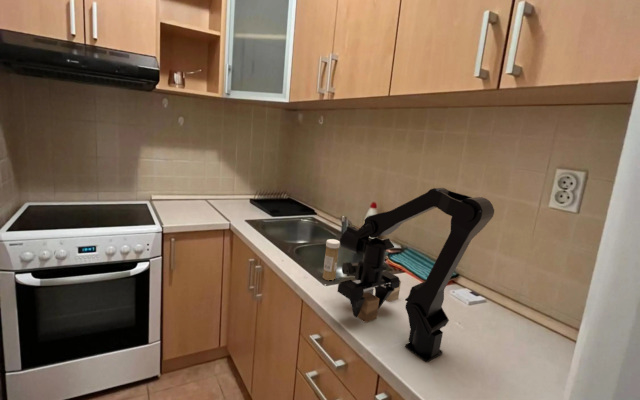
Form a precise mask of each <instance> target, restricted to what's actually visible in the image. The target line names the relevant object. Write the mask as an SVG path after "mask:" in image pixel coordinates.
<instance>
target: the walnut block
mask: <svg viewBox="0 0 640 400" xmlns="http://www.w3.org/2000/svg"><path fill="white" fill-rule="evenodd" d="M362 297H364V298H365V300H364V302H363V305H362V307H361V310H360V312H359V315H358V317H357V318H358V319H360V320H361V321H362V322H364V323H368V322H371V321H373V320H377V317H378V311H379V309H378V306H379V298H378V297H376V296H375V294H374V293H373V294H371V293H369V292H366V293H364V294H363V296H362Z"/></svg>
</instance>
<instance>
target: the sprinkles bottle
mask: <svg viewBox="0 0 640 400" xmlns="http://www.w3.org/2000/svg"><path fill="white" fill-rule="evenodd" d="M340 247H341V245H340V240H338V239H334V238H331V239H327V240H326V241H325V254H324V261H323V262H324V263H323V274H322V279H323V280H325V281H329V280H332V281H335V280H336V278H337V277H336V275H337V269H338V268H337V266H338V259H339V258H338V256H339V250H340ZM334 279H335V280H334Z"/></svg>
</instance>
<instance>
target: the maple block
mask: <svg viewBox="0 0 640 400" xmlns="http://www.w3.org/2000/svg"><path fill="white" fill-rule="evenodd" d="M401 283H402V281H401V280H400V285H399V287H398V288H395V290H394V291H393V292H392V293H391V294H390V295H389V296H388V297H387V299H386V300H385V301H386V302H388V303H390V302H394V301H396V300H399V297H400V291H401V290H400V289H401V285H402V284H401Z"/></svg>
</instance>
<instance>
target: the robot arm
mask: <svg viewBox="0 0 640 400" xmlns="http://www.w3.org/2000/svg"><path fill="white" fill-rule="evenodd" d="M436 208H437V209H438V210H439V211H441V212H443V213H444V214H446V215H448V216H450V218H451V219H450V232H449V234H448V236H447V239H446V240H445V242H444V244H443V246H442V248H441V250H440V253H439V254H438V256H437V258H436V260H435V262H434V264H433V266H432V268H431V269H430V271H429V273H428V275H427V278H426V280H425V281H422V282H421V283H418V284H415V285H413V286H412V287H411V289H410V291H409V294H408V296H407V297H406V298H405V302H406V303H405V311H406V313H407V316H408V323H409V328H410V330H409V336H408V337H409V338H408V343H406V344H405V346H404V347H405V348H406V349H407V350H408V351H410V352H412V353H413V354H415V355H416V356H417V357H419V358H420V359H422V360H423V361H424V362H427V363H428V362H430V361H432V360H433V359H435V358H437V357H439V356H441V355H443V353H444V352H443V350H442V349H441V344H442V339H443V333H444V331H443V330H441V329H442V328H445V327H446V326H447V325H448V324H449V321H450V320H449V319H450V318H448V316H447V314H446V312H445V311H444V309H443V303H444V300H445V289H446V287H447V286H448V284H449V281H450V280H451V278H452V276H453V275H454V273H455V271H456V269H457V267H458V265H459V263H460V262H461V260H462V258H463V257H464V254H465V253H466V251H467V249H468V247H469V245H470V244H471V241H472V240H473V239H474V238H475V237H476V236H477V235H478V234H479V233H481V231H482V230H484V228H485V227H486V226H487V225H488V224H489V222H490V221H491V220H492V219H493V217H494V214H495V208H494V205H493V204H492V202H491V201H490V200H489V199H487V198H486V197H484V196H483V197H482V196H475V197H472V196H471V195H466V194H463V193H459V192H456V191H452V190H449V189H447V188H445V187H434V188H431V189H429V190H428V191H427V192H425V193H423V194H421V195H419V196H417V197H415V198H414V199H411V200H409V201H407V202H405V203H403V204H401V205H399V206H397V207H395V208H394V209H391V210H389V211H384V212H380V213H375V214H371V215H368V216H366V218H364V223H363V225H361V226H360V227H359V228H357V227H356V226H355V225H354V226H353V225H349V226H347V227H346V230H345V231H344V232H343V234H342V235H341V237H340V240H339V242H340V247H341V248H343V249H345V250H347V251H349V252H351V253H354V254H357V255H363V257H362V260H359V261H358V262H353V263H352V262H342V265H341V272H342V274H343V275H346V277H354V279H355V280H359V281H360V282H361V283H358V284H357V283H355V282H354V281H355V280H352V279H348V280H344V281H341V282H339V283H338V285H337V293H339V294H340V295H342V296H344V297H345V298H346V299H348V300H349V302H350V305H351V309H352V310H351V311H352V314H353V317H355V318H358V315H359V312H360V310H361V307H362V305H363V302H364V300H365V298H364V297H362V296H363V294H364V290H367V289H371V288H373V289H374V290H375V292H374V296H376V297H378V298H379V306H378V310H379V309H380V308H381V306H383V304H384V303H385V301H386V299H387V297H388V296H389V295H390V294H391V293H392V292H393V291H394V290H395V288H398V287H399V285H400V281H401V279H400V278H399V276H398V275H395V274H393V273H391V272H389V271H388V265H385V261H386V260H385V259H386V252H387V251H388V250H391V249H394V248H395V245H394V244H393V243H392V242H391V240H390V238H385V239H382V238H381V237H383V236H388V235H390V234H392V233H393V232H394V231H396V230H397V229H399V227H400V226H401V225H403V224H404V223H406V222H408V221H410V220H412V219H414V218H417V217H419V216H421V215H424V214H425V213H427V212H429V211H433V210H434V209H436ZM379 237H380V238H379ZM400 286H401V285H400Z"/></svg>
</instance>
